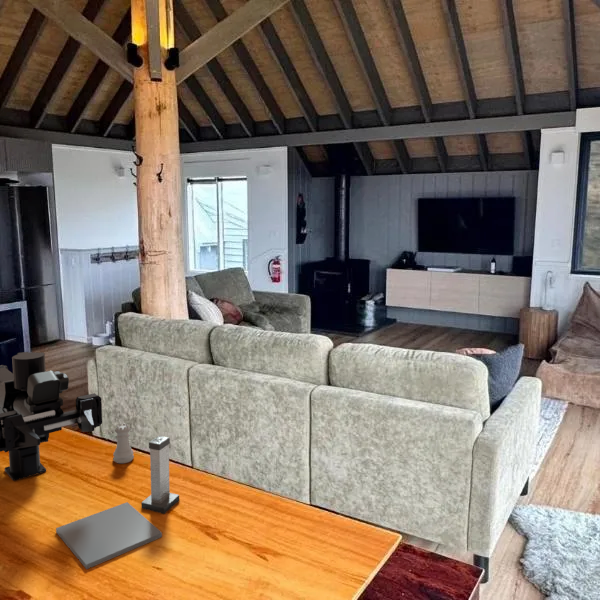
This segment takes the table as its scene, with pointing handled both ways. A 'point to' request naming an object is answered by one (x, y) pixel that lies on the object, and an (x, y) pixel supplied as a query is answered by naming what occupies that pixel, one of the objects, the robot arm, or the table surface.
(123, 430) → the rook chess piece
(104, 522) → the plate
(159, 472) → the tray topped pillar
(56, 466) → the table surface
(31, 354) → the robot arm
